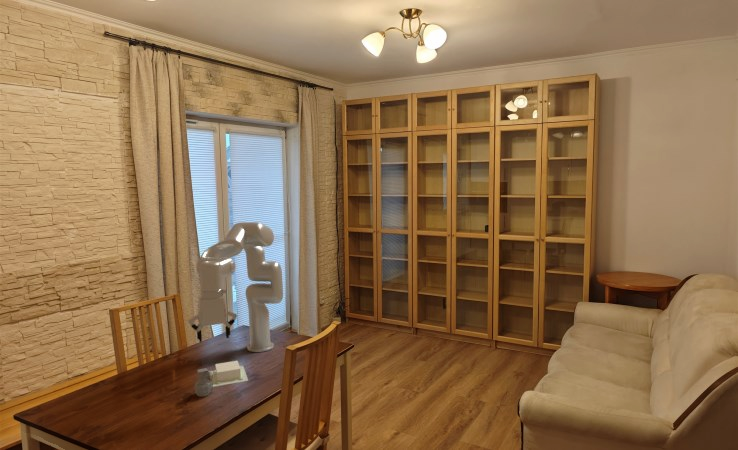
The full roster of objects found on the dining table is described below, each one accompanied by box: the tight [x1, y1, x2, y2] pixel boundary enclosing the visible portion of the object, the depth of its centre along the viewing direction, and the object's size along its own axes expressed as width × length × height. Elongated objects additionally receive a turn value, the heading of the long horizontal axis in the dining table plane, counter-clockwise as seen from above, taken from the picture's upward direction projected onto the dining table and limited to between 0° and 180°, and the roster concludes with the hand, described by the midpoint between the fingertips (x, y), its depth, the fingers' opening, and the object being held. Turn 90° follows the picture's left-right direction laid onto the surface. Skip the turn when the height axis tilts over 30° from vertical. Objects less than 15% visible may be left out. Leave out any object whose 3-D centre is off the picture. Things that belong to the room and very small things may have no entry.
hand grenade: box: [194, 367, 214, 398], centre depth 179 cm, size 6×6×11 cm
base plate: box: [208, 365, 249, 388], centre depth 195 cm, size 16×14×2 cm
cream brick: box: [214, 360, 241, 382], centre depth 195 cm, size 9×9×4 cm
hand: (214, 339), depth 178 cm, fingers open, 9 cm apart
